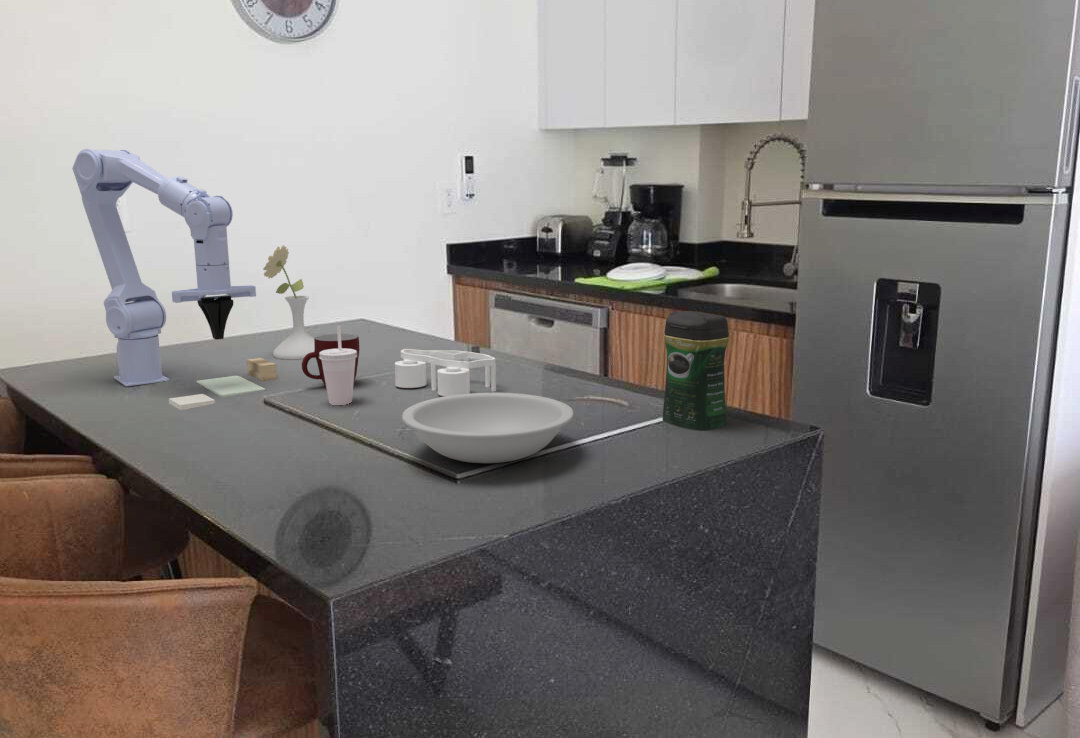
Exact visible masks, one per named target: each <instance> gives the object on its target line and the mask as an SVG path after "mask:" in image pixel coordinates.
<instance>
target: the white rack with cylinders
mask: <svg viewBox="0 0 1080 738" xmlns="http://www.w3.org/2000/svg"><path fill="white" fill-rule="evenodd" d="M400 358H401V359H402V360H399V361H395V362H394V379H395V387H398V388H402V389H414V388H422V387H425V386H427V363H428V364H430V382H431V392H434V391H437V394H438V395H439V396H440V397H444V396H451V395H459V394H470V393H471V385H470V384H471V383H470V382H471V380H470V378H471V376H470V373H471V372H470V369H476V368H482V367H484V369H485V370H484V372H485V373H484V374H485V375H484V377H485V380H484V381H485V388H490V387H491V392H492V393H495V392H497V373H496V372H497V371H496V370H497V367H496V363H497V362H496V358H495V357H493V356H491V355H489V354H484V353H478V352H472V351H466V350H464V351H462V350H453V349H451V350H443V349H441V350H439V349H436V350H435V349H434V350H433V349H432V350H430V349H429V350H427V349H426V350H423V349H416V348H412V349H411V348H404V349H401V350H400ZM469 359H472V360H471V361H469ZM436 366H441V367H443V368H439V369H437V368H436ZM436 369H437V370H436ZM436 371H437V373H436ZM436 375H437V376H436ZM490 377H491V378H490Z"/></svg>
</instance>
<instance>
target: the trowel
mask: <svg viewBox="0 0 1080 738" xmlns="http://www.w3.org/2000/svg"><path fill="white" fill-rule="evenodd" d="M246 367H247V369H246V370H247V374H248V375H250V376H251V377H253V378H256V379H257V380H260V381H262V382H264V381H265V382H266V381H271V380H277V378H278V377H277V364H276V363H274V362H271V361H269V360H266V359H265V358H262V357H256V358H249V359H248V358H247V359H246Z"/></svg>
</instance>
